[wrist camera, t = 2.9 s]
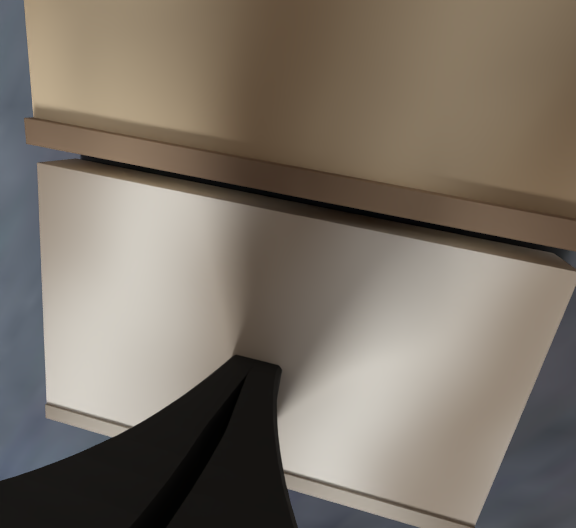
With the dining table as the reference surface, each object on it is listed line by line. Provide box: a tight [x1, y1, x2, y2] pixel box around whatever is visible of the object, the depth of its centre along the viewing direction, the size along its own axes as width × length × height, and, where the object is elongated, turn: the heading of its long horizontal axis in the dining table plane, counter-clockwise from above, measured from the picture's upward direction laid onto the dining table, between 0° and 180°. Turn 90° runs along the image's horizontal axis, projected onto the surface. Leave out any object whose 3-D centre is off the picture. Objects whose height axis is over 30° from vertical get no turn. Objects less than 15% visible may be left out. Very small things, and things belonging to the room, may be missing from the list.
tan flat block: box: [37, 159, 576, 528], centre depth 12 cm, size 13×8×2 cm, turn 81°
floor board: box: [24, 0, 576, 251], centre depth 9 cm, size 13×6×2 cm, turn 81°
